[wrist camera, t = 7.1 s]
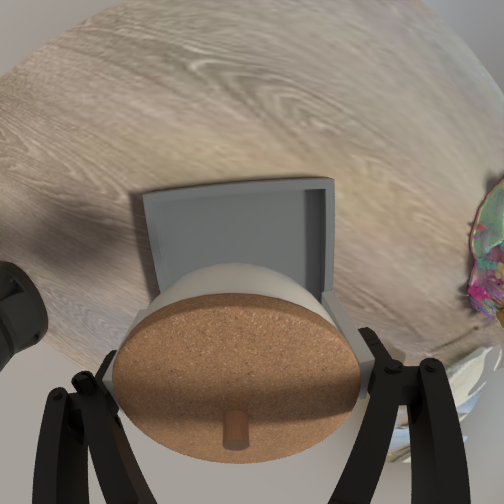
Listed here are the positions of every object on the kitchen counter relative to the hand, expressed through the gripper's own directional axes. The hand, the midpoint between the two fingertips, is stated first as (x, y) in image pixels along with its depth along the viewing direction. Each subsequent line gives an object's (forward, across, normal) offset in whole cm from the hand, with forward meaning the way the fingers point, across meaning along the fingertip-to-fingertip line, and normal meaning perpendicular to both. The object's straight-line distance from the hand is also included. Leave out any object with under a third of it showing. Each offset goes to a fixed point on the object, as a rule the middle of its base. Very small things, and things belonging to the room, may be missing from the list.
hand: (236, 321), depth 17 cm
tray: (+16, 0, +3) cm, 16 cm away
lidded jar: (+1, 0, 0) cm, 1 cm away
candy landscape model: (+16, -46, +6) cm, 50 cm away
